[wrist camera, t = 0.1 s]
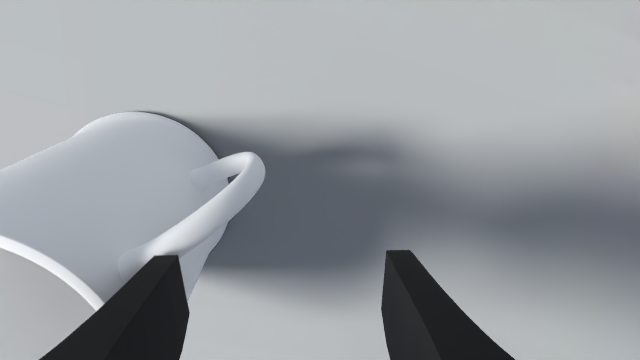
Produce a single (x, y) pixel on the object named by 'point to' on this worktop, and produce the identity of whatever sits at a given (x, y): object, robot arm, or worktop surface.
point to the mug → (107, 220)
